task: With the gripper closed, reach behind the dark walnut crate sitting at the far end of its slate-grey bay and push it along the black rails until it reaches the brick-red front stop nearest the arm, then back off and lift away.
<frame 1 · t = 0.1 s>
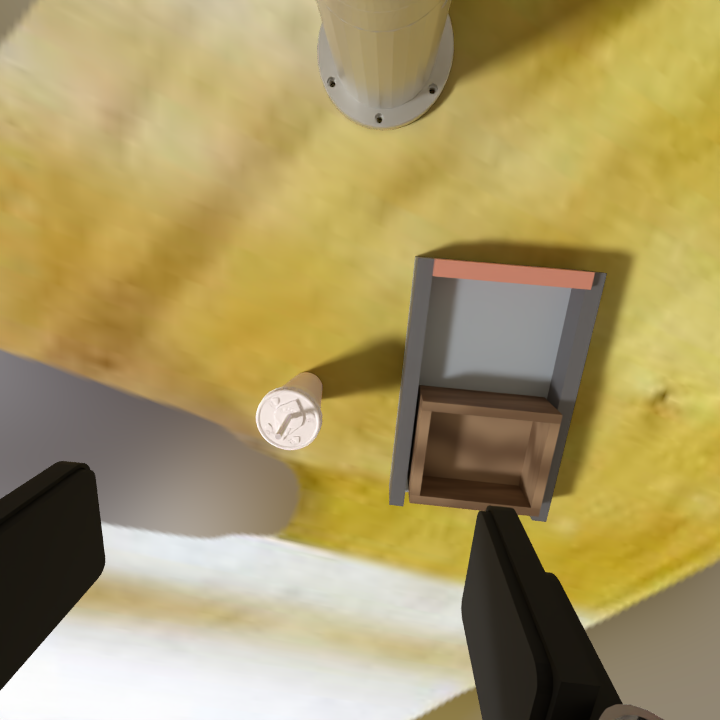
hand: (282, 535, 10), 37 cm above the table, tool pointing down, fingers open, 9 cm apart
smoothie: (307, 386, 48), on the table
crate: (477, 449, 45), point 4 cm above the table, slide at 12.0 cm
bay: (479, 387, 47), on the table
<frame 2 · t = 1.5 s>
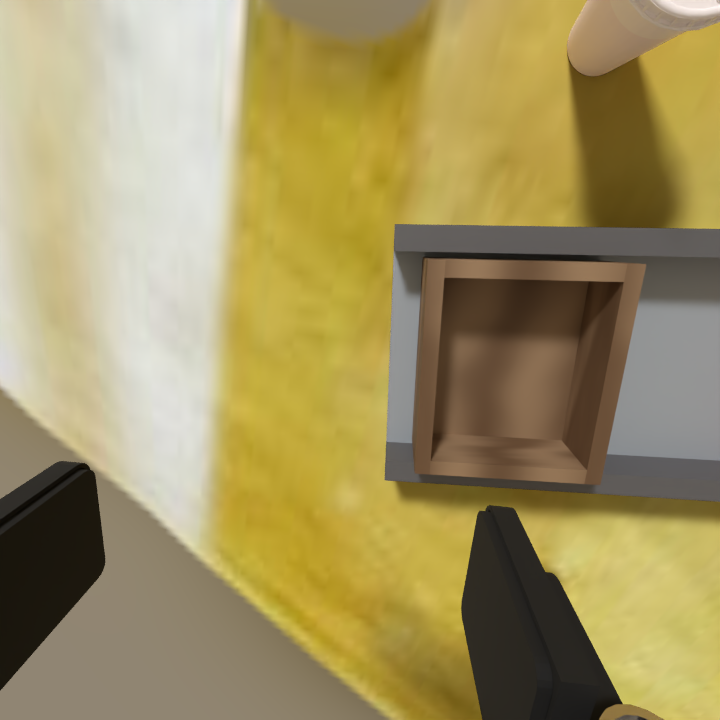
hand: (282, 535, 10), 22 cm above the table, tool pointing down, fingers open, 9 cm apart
smoothie: (596, 43, 25), on the table
crate: (508, 367, 27), point 4 cm above the table, slide at 12.0 cm
bay: (577, 356, 30), on the table
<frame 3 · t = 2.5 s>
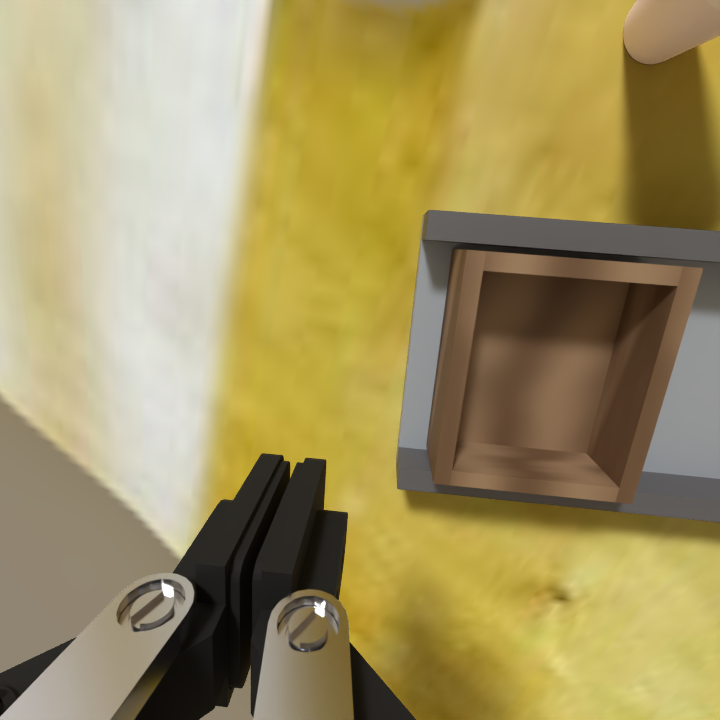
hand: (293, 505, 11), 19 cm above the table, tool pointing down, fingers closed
smoothie: (654, 28, 23), on the table
crate: (539, 372, 25), point 4 cm above the table, slide at 12.0 cm
bay: (607, 365, 28), on the table
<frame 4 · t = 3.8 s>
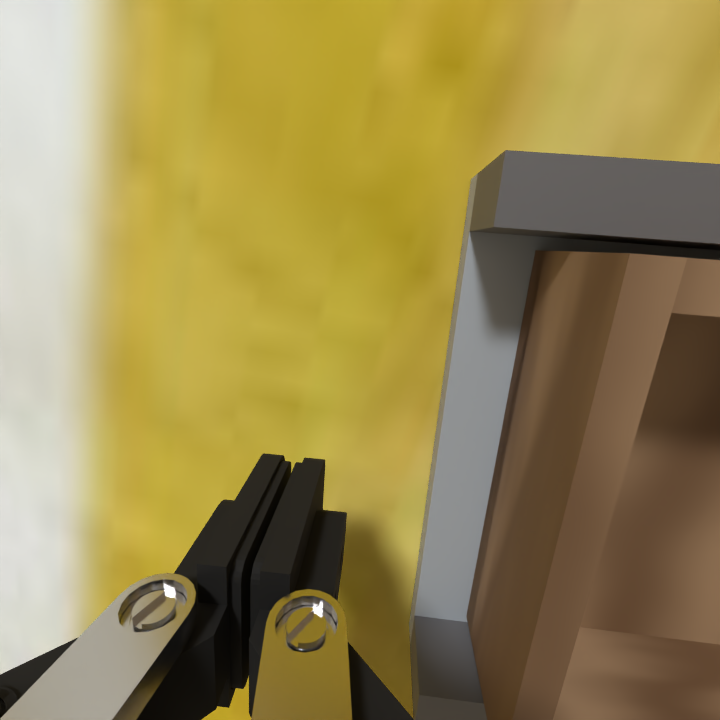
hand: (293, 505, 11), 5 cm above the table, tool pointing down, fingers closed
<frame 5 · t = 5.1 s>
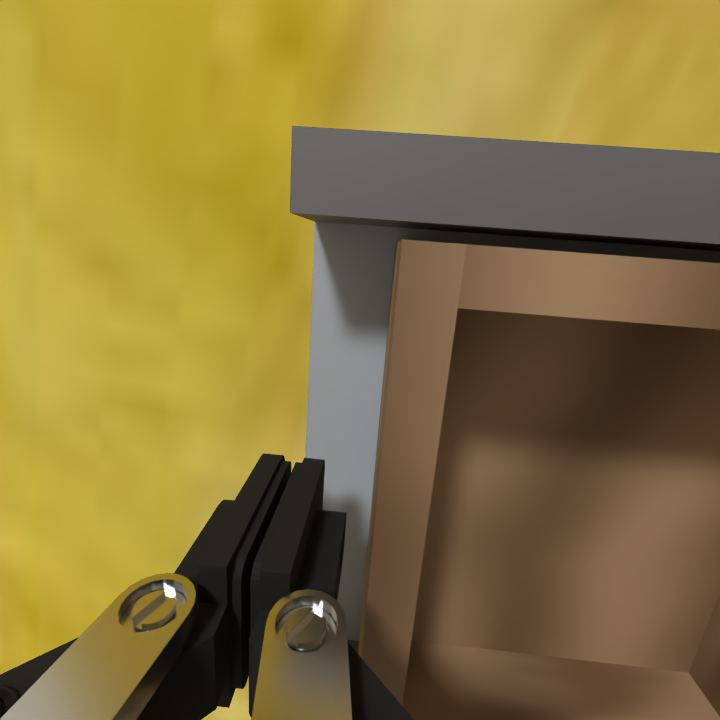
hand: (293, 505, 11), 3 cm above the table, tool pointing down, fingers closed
crate: (604, 541, 10), point 4 cm above the table, slide at 11.7 cm, touching gripper
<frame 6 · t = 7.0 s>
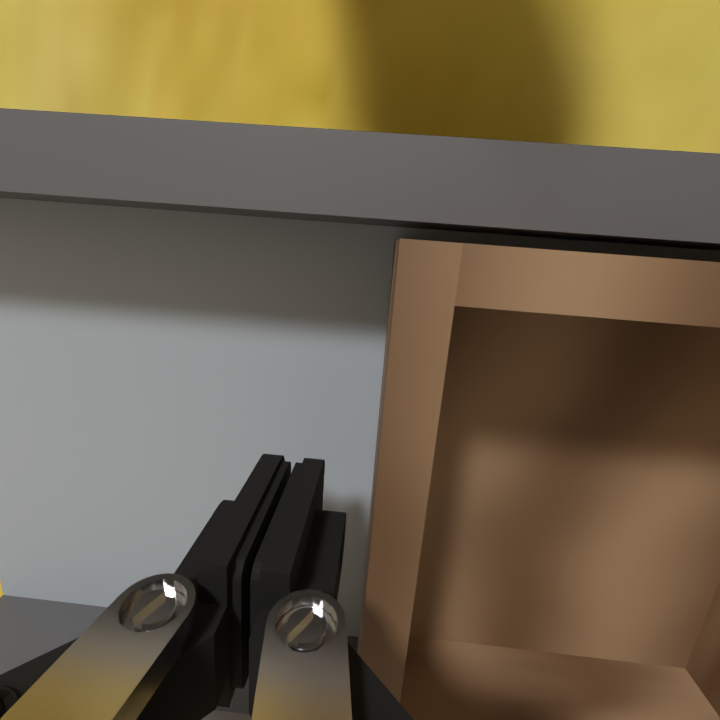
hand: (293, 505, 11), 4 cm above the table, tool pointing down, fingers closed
crate: (601, 537, 11), point 4 cm above the table, slide at 0.0 cm, touching gripper
bay: (374, 448, 14), on the table
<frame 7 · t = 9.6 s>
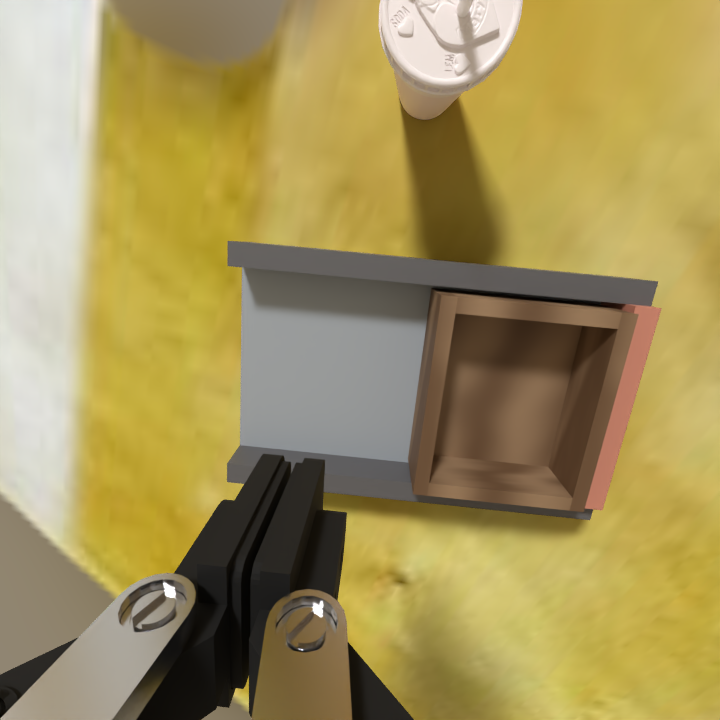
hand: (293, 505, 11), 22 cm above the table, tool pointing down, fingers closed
smoothie: (425, 90, 27), on the table
crate: (505, 397, 29), point 4 cm above the table, slide at 0.0 cm
bay: (417, 374, 33), on the table
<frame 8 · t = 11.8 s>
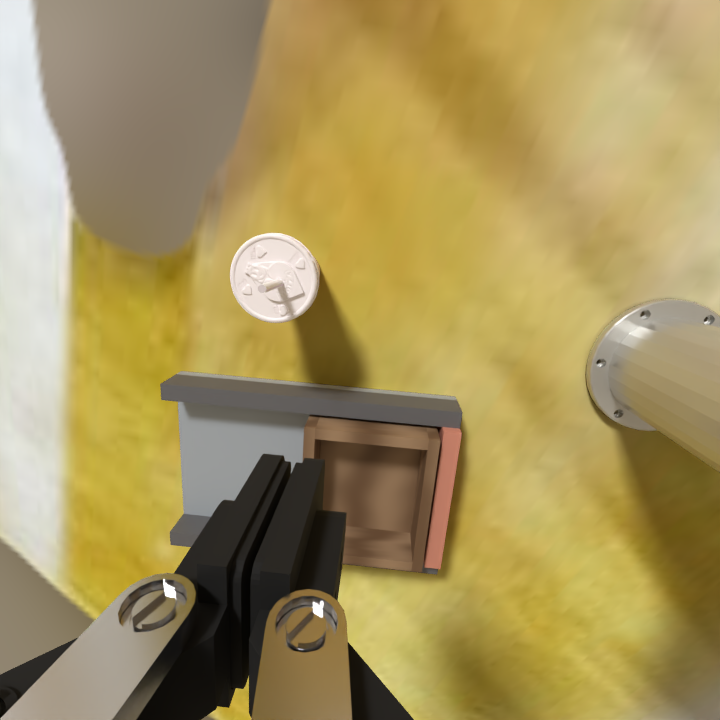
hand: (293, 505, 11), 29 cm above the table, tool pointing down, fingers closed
smoothie: (301, 271, 38), on the table
crate: (366, 487, 40), point 4 cm above the table, slide at 0.0 cm
bay: (312, 462, 43), on the table
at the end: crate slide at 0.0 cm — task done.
